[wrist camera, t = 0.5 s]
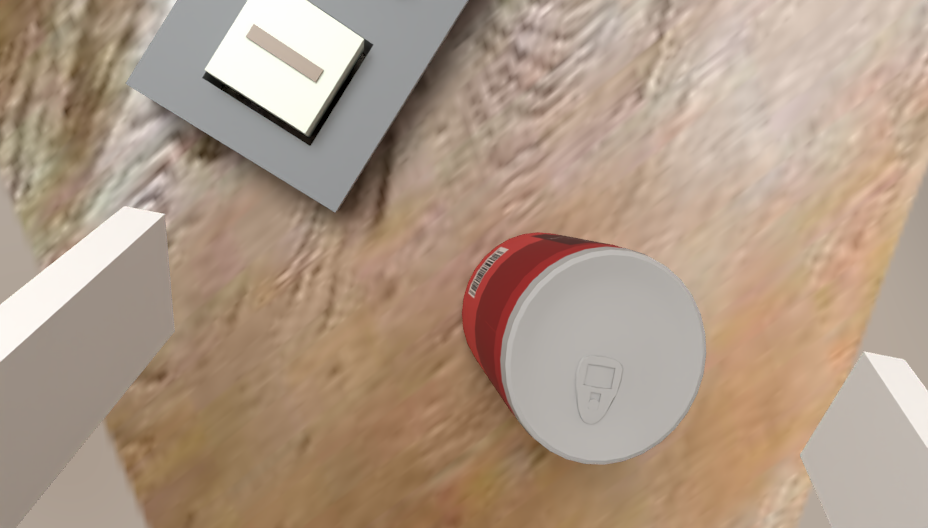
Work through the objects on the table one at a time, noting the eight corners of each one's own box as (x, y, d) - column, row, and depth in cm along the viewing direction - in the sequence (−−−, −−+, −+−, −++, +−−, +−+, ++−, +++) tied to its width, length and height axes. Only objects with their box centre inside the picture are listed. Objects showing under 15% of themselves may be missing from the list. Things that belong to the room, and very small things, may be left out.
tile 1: (309, 138, 30) (304, 133, 27) (216, 79, 29) (203, 68, 26) (363, 50, 30) (363, 37, 27) (272, -11, 29) (264, -30, 26)
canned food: (464, 390, 34) (511, 480, 24) (453, 237, 33) (495, 258, 23) (606, 374, 35) (712, 452, 25) (598, 225, 34) (705, 238, 24)
